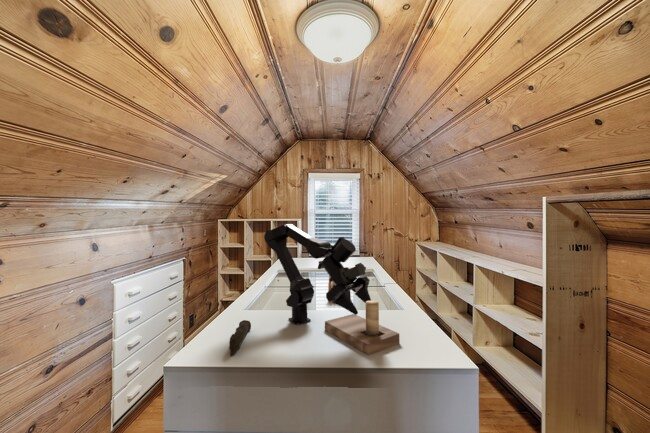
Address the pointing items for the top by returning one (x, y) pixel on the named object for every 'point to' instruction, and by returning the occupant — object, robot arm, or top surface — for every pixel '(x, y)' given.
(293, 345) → the top surface
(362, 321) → the walnut board
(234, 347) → the hand tool
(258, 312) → the top surface
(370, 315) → the oak peg
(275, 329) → the top surface
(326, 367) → the top surface
